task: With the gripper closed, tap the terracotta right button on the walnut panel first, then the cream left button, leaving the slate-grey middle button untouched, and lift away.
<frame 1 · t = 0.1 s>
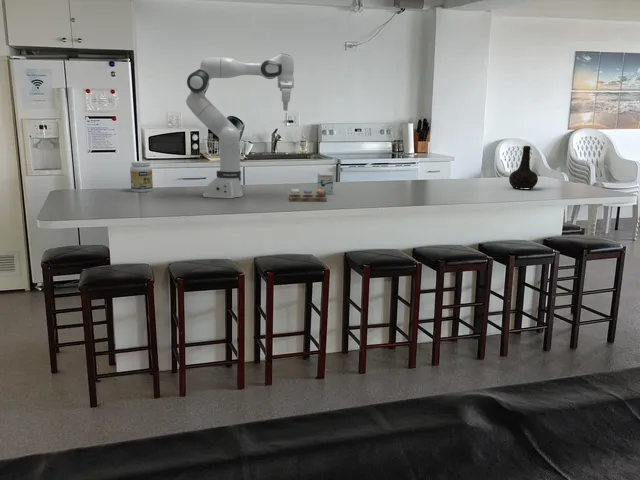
hand: (285, 110, 333), 48 cm above the countertop, fingers open, 8 cm apart
button panel: (307, 199, 333), on the countertop
slate button: (307, 191, 332), point 5 cm above the countertop, slide at 0.0 cm
glass bottle: (522, 189, 395), on the countertop
terracotta button: (320, 191, 333), point 5 cm above the countertop, slide at 0.0 cm
ink box: (325, 194, 356), on the countertop
cream button: (295, 191, 332), point 5 cm above the countertop, slide at 0.0 cm
supplement tub: (142, 191, 352), on the countertop
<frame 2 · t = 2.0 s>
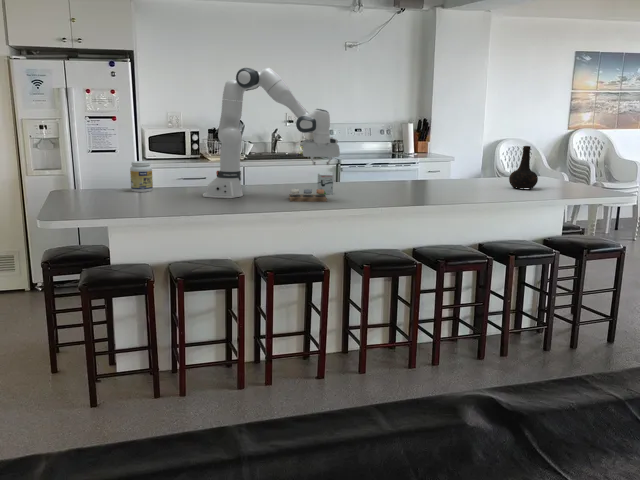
hand: (320, 165, 330), 19 cm above the countertop, fingers open, 6 cm apart
nothing on the countertop moved.
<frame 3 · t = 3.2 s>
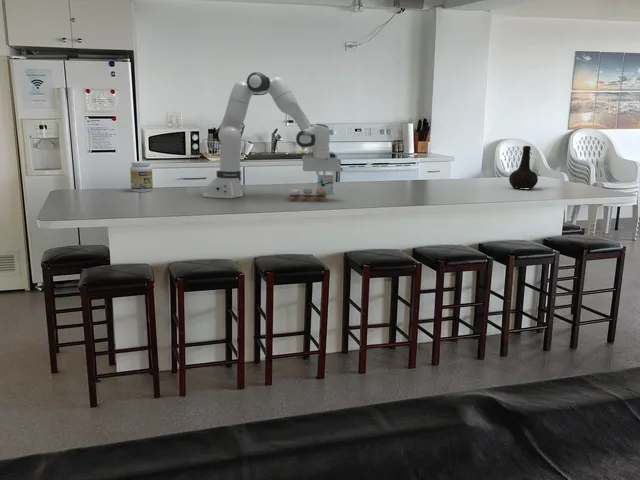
hand: (320, 179, 332), 11 cm above the countertop, fingers closed
nothing on the countertop moved.
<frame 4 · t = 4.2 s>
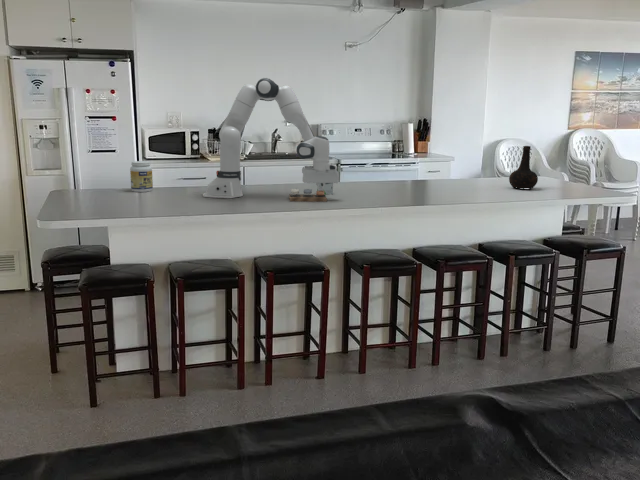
hand: (320, 191, 333), 5 cm above the countertop, fingers closed, pressing on terracotta button
terracotta button: (320, 192, 333), point 4 cm above the countertop, slide at 0.8 cm, touching gripper
everything else where it was.
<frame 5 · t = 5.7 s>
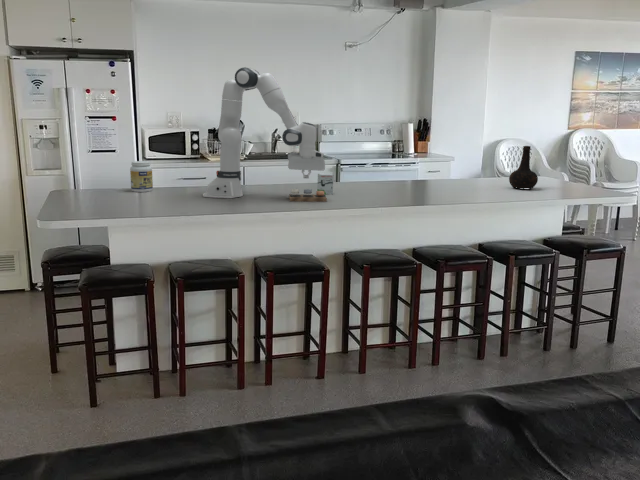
hand: (306, 178, 331), 12 cm above the countertop, fingers closed
terracotta button: (320, 193, 333), point 4 cm above the countertop, slide at 0.9 cm
everything else where it was.
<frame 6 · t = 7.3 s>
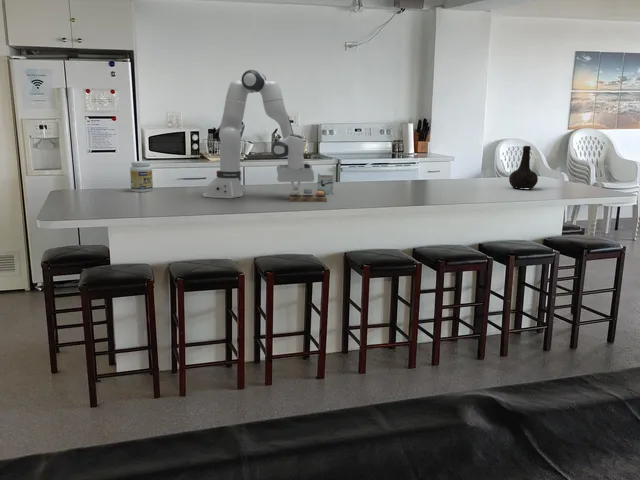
hand: (295, 189, 332), 5 cm above the countertop, fingers closed, pressing on cream button
cream button: (295, 191, 332), point 4 cm above the countertop, slide at 0.3 cm, touching gripper
everything else where it was.
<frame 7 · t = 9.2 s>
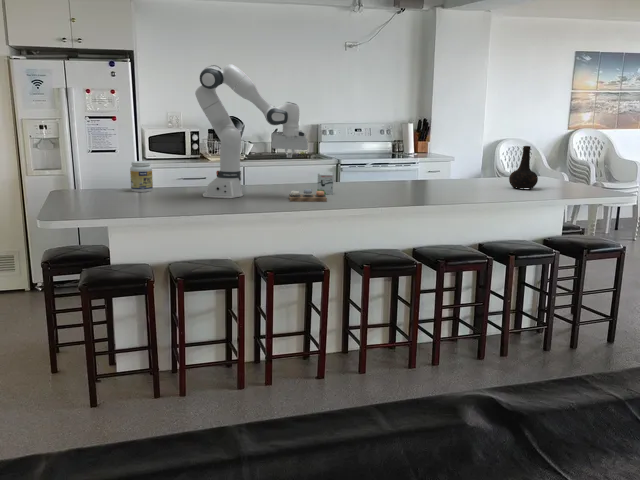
hand: (289, 157, 335), 22 cm above the countertop, fingers closed
cream button: (295, 193, 332), point 4 cm above the countertop, slide at 1.0 cm
everything else where it was.
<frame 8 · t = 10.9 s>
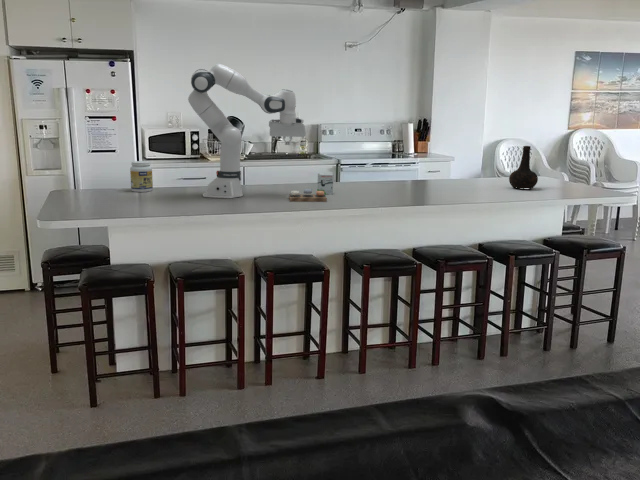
hand: (287, 144, 337), 29 cm above the countertop, fingers closed
nothing on the countertop moved.
at the end: terracotta button slide at 0.9 cm; cream button slide at 1.0 cm; slate button slide at 0.0 cm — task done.
